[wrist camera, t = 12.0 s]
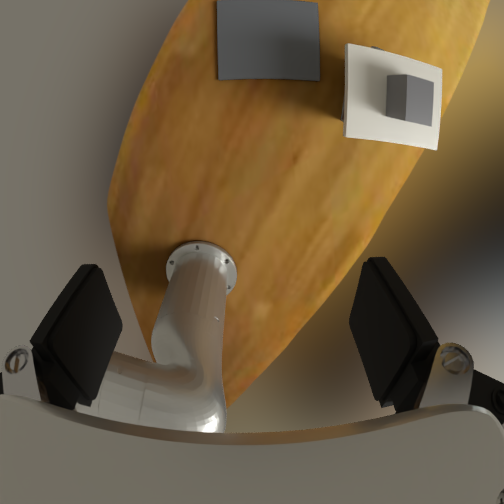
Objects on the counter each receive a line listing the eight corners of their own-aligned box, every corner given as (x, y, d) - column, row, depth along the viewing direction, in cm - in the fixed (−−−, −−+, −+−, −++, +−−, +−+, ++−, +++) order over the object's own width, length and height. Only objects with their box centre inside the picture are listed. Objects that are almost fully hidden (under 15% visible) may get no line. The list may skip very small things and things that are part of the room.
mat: (318, 81, 33) (320, 81, 33) (218, 80, 33) (218, 79, 33) (316, 4, 27) (317, 3, 26) (217, 2, 26) (217, 0, 26)
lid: (432, 148, 28) (458, 159, 24) (343, 135, 28) (361, 144, 24) (437, 69, 23) (464, 69, 18) (344, 44, 23) (363, 36, 18)
